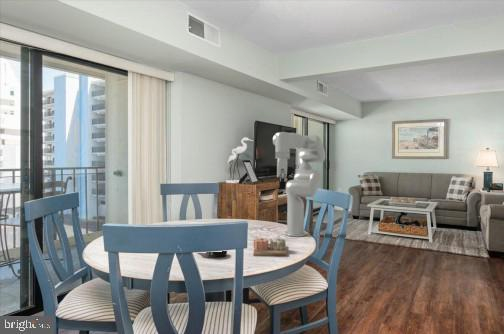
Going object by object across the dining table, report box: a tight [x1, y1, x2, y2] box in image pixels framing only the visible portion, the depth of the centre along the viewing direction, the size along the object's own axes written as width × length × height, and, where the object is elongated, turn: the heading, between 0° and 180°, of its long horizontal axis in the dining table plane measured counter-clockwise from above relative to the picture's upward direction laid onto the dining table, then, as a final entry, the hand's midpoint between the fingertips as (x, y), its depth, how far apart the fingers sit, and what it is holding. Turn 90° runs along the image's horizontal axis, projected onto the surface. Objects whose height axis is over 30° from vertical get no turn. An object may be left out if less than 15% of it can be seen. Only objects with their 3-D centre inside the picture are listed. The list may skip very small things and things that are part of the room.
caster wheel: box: [196, 250, 228, 259], centre depth 155 cm, size 7×11×10 cm
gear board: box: [253, 237, 288, 258], centre depth 164 cm, size 18×15×6 cm
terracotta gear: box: [253, 237, 269, 250], centre depth 164 cm, size 7×7×4 cm
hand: (282, 188), depth 180 cm, fingers open, 9 cm apart
